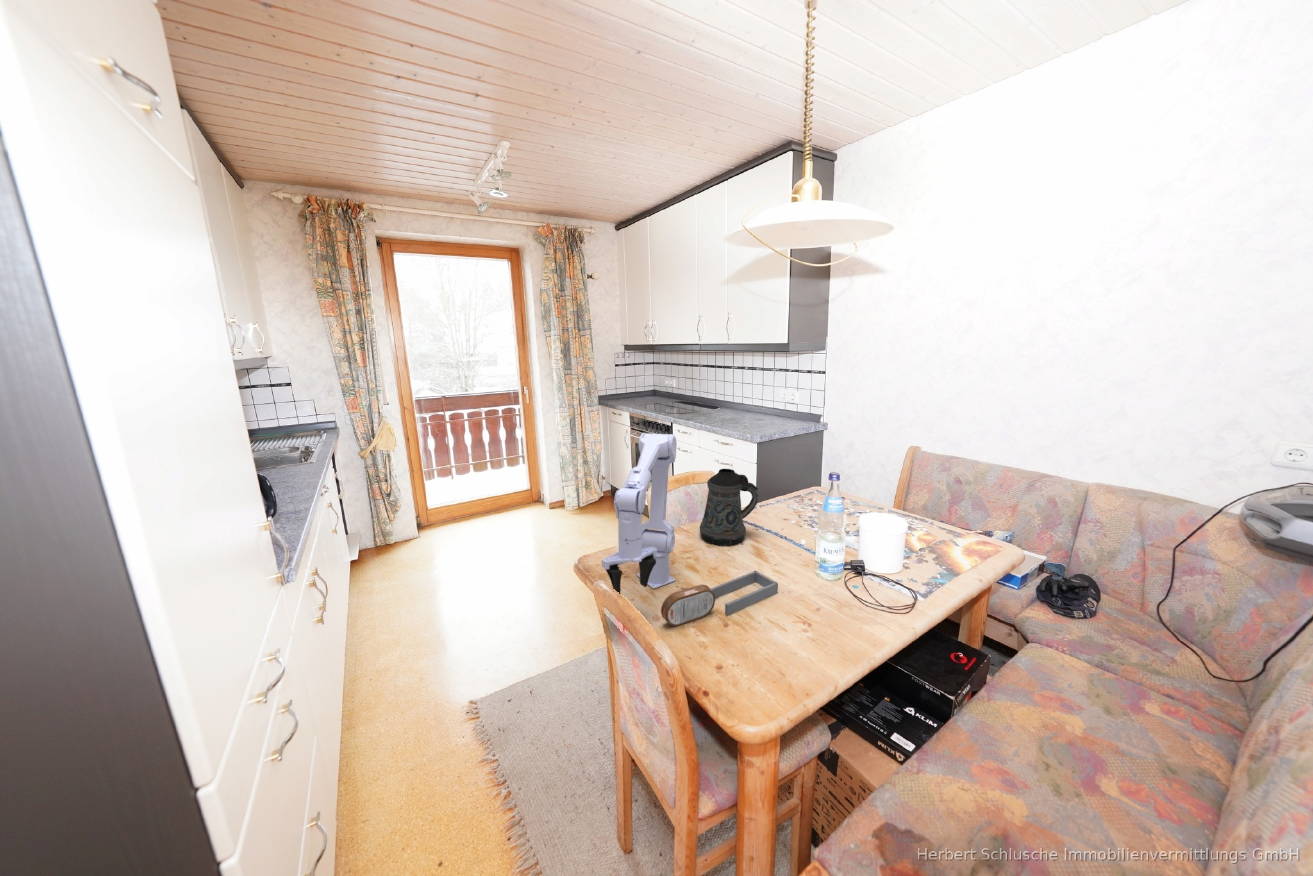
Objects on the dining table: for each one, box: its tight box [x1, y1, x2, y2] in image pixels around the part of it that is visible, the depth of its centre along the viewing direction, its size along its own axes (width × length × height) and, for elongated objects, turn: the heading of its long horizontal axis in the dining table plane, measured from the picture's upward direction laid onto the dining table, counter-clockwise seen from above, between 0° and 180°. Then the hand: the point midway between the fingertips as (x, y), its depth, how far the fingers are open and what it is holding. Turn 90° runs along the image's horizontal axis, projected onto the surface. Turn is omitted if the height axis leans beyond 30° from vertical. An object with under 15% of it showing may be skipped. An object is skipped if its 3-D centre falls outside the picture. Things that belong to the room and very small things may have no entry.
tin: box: [660, 584, 716, 627], centre depth 116 cm, size 15×3×8 cm, turn 117°
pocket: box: [710, 570, 779, 616], centre depth 127 cm, size 9×19×3 cm, turn 123°
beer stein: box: [699, 468, 760, 547], centre depth 162 cm, size 16×19×25 cm
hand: (630, 589), depth 113 cm, fingers open, 7 cm apart
